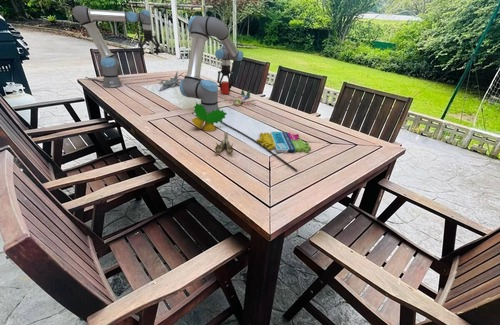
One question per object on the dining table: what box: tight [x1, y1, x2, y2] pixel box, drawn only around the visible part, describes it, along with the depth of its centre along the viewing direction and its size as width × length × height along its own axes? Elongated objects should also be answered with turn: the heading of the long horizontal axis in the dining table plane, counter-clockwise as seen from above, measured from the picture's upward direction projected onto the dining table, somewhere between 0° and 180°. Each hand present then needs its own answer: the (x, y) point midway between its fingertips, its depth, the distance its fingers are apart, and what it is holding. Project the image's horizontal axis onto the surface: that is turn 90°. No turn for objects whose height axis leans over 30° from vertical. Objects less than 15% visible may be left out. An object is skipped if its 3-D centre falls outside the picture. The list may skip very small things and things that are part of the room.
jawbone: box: [214, 131, 234, 156], centre depth 136 cm, size 9×15×10 cm
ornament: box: [191, 102, 228, 132], centre depth 162 cm, size 21×8×15 cm, turn 105°
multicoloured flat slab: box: [256, 131, 312, 154], centre depth 152 cm, size 26×2×30 cm
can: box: [220, 80, 230, 95], centre depth 237 cm, size 7×7×10 cm
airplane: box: [156, 70, 183, 92], centre depth 249 cm, size 38×31×10 cm
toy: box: [223, 89, 257, 106], centre depth 219 cm, size 28×7×30 cm
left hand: (150, 54), depth 247 cm, fingers open, 13 cm apart
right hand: (225, 91), depth 239 cm, fingers closed on can, 7 cm apart
